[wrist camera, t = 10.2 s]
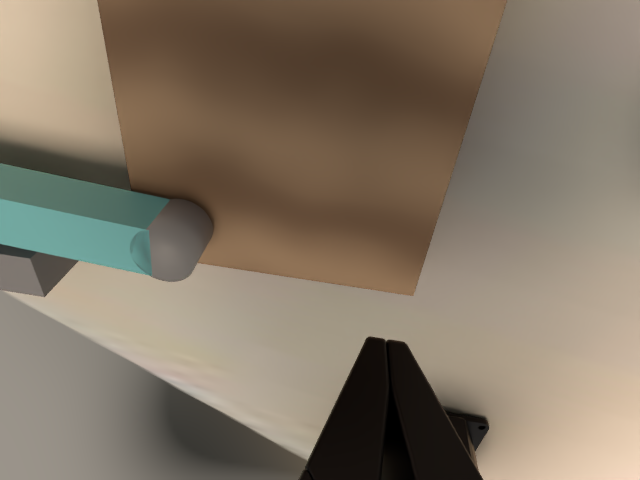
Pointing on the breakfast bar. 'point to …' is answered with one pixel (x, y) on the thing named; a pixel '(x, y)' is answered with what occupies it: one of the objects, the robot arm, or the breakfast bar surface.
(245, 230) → the board
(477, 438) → the robot arm
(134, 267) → the leg
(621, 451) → the breakfast bar surface
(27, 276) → the post
